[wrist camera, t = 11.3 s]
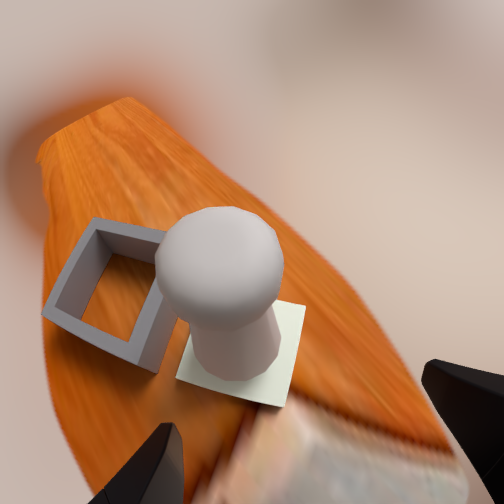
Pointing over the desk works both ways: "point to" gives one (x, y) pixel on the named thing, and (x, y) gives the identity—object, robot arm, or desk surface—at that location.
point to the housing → (86, 278)
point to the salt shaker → (224, 288)
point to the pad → (266, 384)
